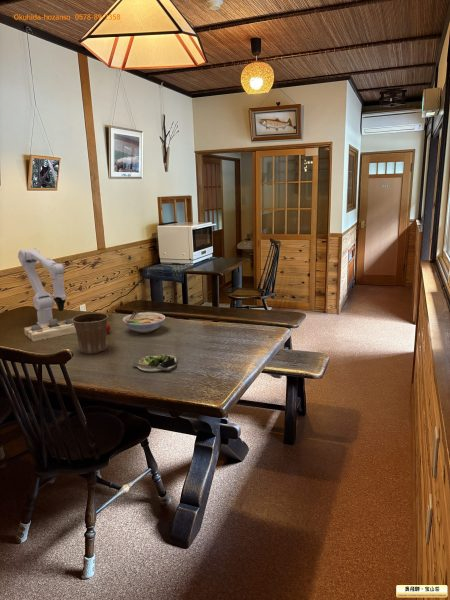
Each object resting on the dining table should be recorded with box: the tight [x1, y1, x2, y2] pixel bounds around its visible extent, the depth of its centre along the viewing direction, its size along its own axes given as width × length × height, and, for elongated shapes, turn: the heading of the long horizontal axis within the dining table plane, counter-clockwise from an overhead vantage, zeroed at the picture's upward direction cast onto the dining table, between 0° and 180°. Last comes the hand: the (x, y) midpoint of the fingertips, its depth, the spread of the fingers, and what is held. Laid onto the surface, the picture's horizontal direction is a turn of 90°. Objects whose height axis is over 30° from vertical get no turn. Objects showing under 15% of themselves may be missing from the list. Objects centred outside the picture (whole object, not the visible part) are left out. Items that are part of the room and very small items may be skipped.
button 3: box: [65, 318, 74, 325], centre depth 239 cm, size 4×4×4 cm
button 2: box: [49, 318, 59, 328], centre depth 233 cm, size 4×4×4 cm
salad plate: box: [130, 354, 178, 373], centre depth 188 cm, size 19×18×5 cm
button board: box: [23, 319, 77, 342], centre depth 233 cm, size 15×27×4 cm, turn 130°
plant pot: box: [71, 312, 109, 355], centre depth 205 cm, size 16×16×16 cm
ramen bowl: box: [122, 309, 166, 334], centre depth 235 cm, size 25×23×8 cm
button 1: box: [30, 324, 41, 331], centre depth 228 cm, size 4×4×4 cm
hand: (61, 310), depth 237 cm, fingers closed
